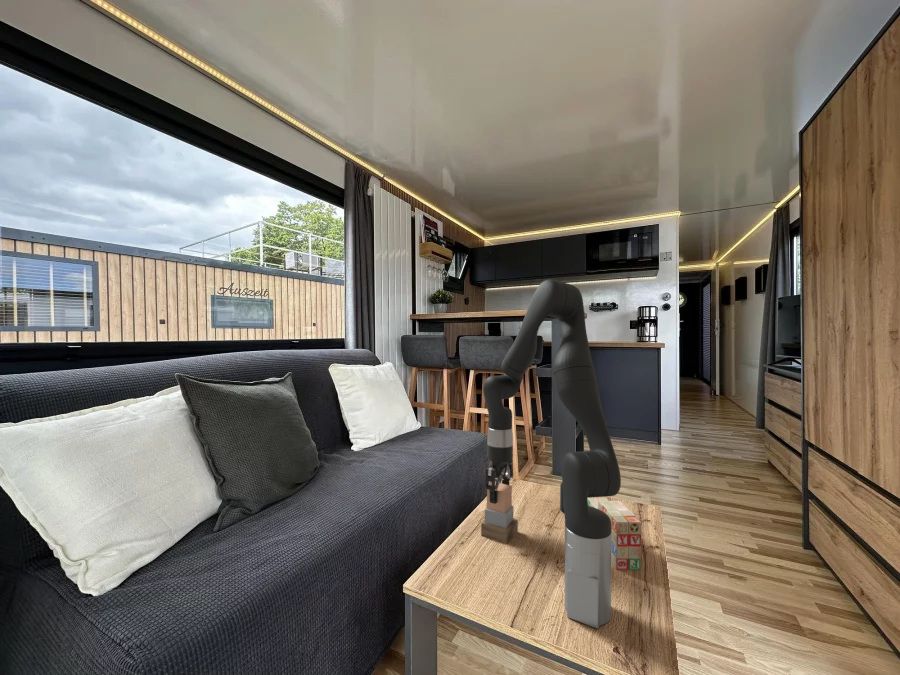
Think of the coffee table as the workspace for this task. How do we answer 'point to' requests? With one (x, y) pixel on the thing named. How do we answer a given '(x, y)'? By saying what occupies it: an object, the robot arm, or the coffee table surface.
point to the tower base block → (499, 531)
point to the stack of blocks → (621, 534)
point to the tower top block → (499, 517)
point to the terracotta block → (501, 498)
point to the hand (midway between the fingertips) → (499, 497)
